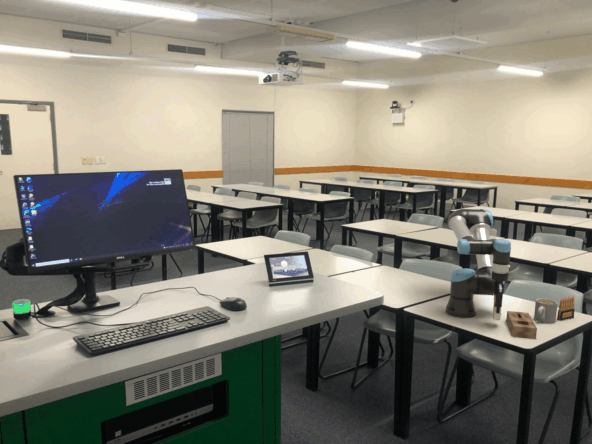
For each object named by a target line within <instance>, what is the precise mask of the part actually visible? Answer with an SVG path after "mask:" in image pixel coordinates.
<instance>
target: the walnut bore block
mask: <svg viewBox="0 0 592 444" xmlns="http://www.w3.org/2000/svg"><path fill="white" fill-rule="evenodd" d="M506 323H507V326H508V328H509V330H510V332H511V336H512V337H515V338H525V339H537V331H538V327H537V326H536V324H535V322H534V320H533V319H532V317H531V315H530V313H529V312H525V311H524V312H522V311H512V310H507V311H506Z"/></svg>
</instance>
